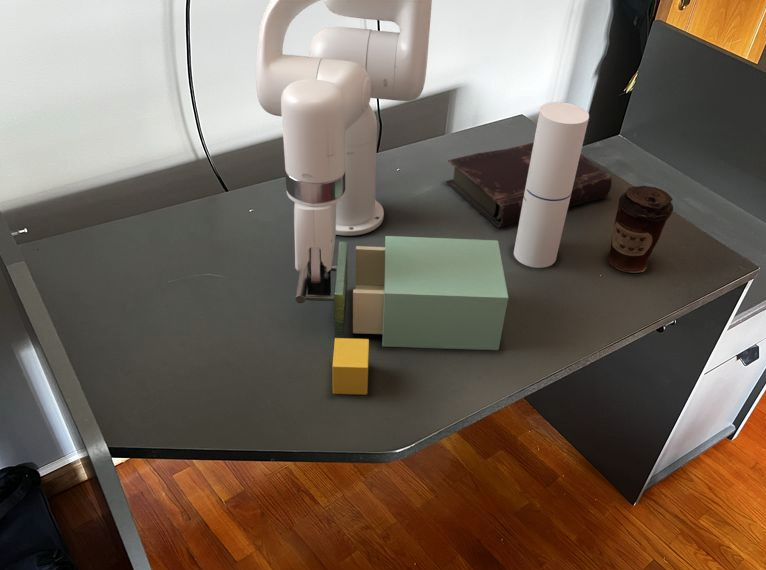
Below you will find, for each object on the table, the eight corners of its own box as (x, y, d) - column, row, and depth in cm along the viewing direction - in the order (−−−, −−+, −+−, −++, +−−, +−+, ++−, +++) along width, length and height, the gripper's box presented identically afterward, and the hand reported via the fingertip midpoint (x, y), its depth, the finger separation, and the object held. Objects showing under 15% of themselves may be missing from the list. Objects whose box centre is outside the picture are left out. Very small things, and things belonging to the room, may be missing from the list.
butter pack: (332, 394, 97) (332, 366, 93) (335, 365, 101) (334, 337, 98) (367, 395, 97) (367, 367, 94) (368, 366, 101) (369, 338, 98)
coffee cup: (642, 285, 119) (665, 216, 110) (594, 267, 122) (613, 198, 113) (659, 260, 125) (682, 192, 116) (613, 243, 128) (632, 175, 119)
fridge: (382, 346, 104) (384, 293, 98) (383, 287, 114) (385, 235, 108) (498, 350, 105) (508, 297, 99) (489, 291, 115) (498, 240, 109)
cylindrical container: (529, 271, 120) (558, 127, 103) (505, 248, 124) (530, 106, 108) (564, 261, 123) (599, 119, 106) (540, 239, 127) (569, 99, 110)
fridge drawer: (295, 336, 103) (292, 292, 98) (303, 282, 112) (301, 239, 107) (444, 341, 105) (449, 298, 99) (440, 287, 114) (445, 245, 109)
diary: (608, 200, 138) (615, 176, 135) (500, 231, 128) (504, 206, 125) (547, 156, 150) (552, 133, 146) (443, 181, 140) (445, 157, 136)
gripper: (291, 152, 99) (297, 264, 112) (280, 212, 88) (288, 328, 100) (347, 155, 100) (347, 265, 112) (343, 214, 89) (343, 330, 101)
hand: (319, 295), depth 106 cm, fingers closed
